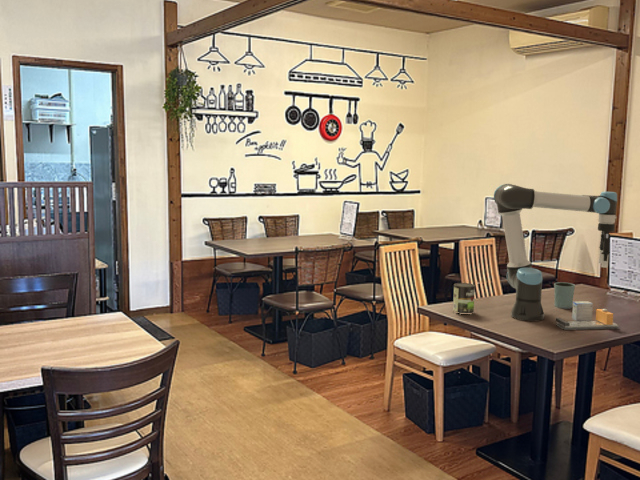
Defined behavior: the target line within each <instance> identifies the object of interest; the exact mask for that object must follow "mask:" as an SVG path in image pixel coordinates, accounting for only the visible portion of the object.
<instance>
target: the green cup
mask: <svg viewBox="0 0 640 480" xmlns="http://www.w3.org/2000/svg"><path fill="white" fill-rule="evenodd" d="M553 287H554V307H555V308H557V309H564V310H565V309H566V310H567V309H573V302H574V294H575V290H576V289H575V287H576V284H574V283H571V282H565V281H564V282H563V281H562V282H554V283H553Z"/></svg>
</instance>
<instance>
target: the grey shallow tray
mask: <svg viewBox="0 0 640 480" xmlns="http://www.w3.org/2000/svg"><path fill="white" fill-rule="evenodd" d="M555 322H556V323H555V326H556V325H557V326H556V327H558V328H560V329H562V330H563V329H564V331H575V330H577V331H579V330H587V331H588V330H619V329H620V326H619V325H618V324H617V323H616V322H613V325H606V324H604V323H602V322H599V321H597V320H592V321H575V320H572V321H569V320H568V321H566V320H564V319H562V318H561V317H556V318H555Z"/></svg>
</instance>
